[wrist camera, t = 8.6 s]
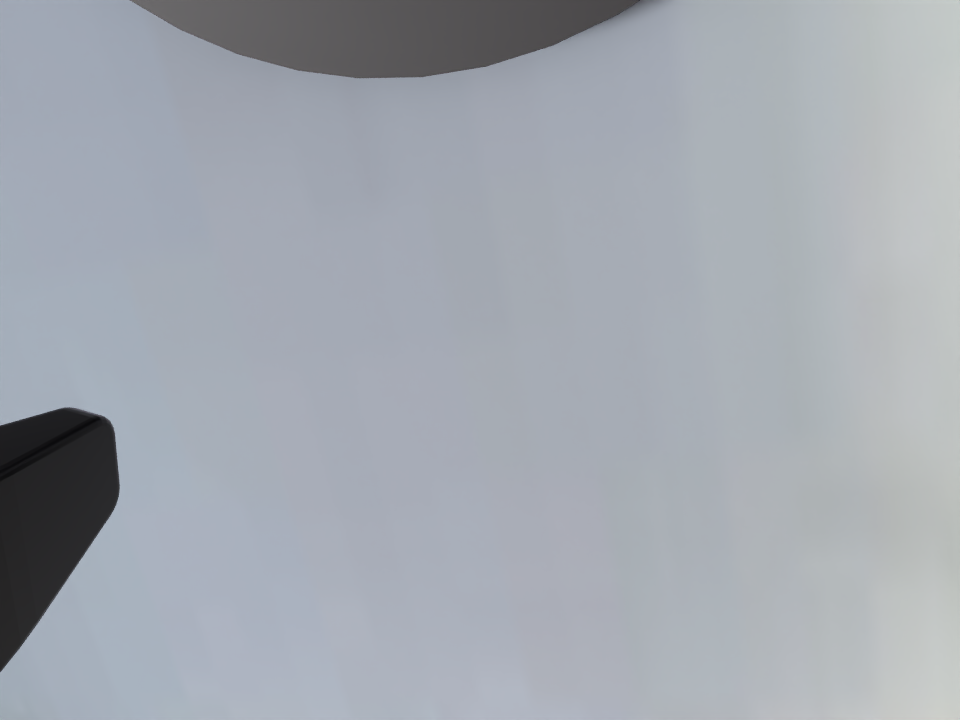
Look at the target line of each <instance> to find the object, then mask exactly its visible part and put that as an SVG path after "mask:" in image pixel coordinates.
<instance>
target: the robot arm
mask: <svg viewBox="0 0 960 720" xmlns="http://www.w3.org/2000/svg"><path fill="white" fill-rule="evenodd" d="M119 489H120V484H119V473H118V463H117V452H116V442H115V432H114V428H113V426H112V424H111V422H110V421H109V420H108V419H107V418H105V417H104V416H101V415H97V414H94V413H90V412H87V411H84V410H80V409H77V408H70V407H69V408H61V409H57V410H54V411H50V412H47V413H43V414H40V415H36V416H33V417H29V418H26V419H22V420H19V421H15V422H11V423H8V424H4V425H1V426H0V672H1V671H2V670H3V668H4V667H5V666H6V665H7V663H8V662H9V661H10V659H11V658H12V657H13V656H14V654H15V653H16V652H17V651H18V649H19V648H20V647H21V646H22V644H23V643H24V642H25V640H26V639H27V637H28V636H29V635H30V633H31V632H32V630H33V629H34V628H35V626H36V625H37V624H38V622H39V621H40V619H41V618H42V616H43V615H44V613H45V612H46V610H47V609H48V607H49V606H50V604H51V603H52V601H53V600H54V598H55V597H56V595H57V594H58V592H59V591H60V590H61V588H62V587H63V585H64V584H65V582H66V581H67V579H68V578H69V576H70V575H71V573H72V572H73V570H74V569H75V567H76V566H77V564H78V563H79V561H80V560H81V558H82V557H83V555H84V554H85V552H86V551H87V550H88V548H89V547H90V545H91V544H92V542H93V541H94V539H95V538H96V536H97V535H98V533H99V532H100V530H101V529H102V527H103V526H104V524H105V523H106V521H107V520H108V518H109V517H110V515H111V514H112V512H113V510H114V508H115V506H116V503H117V500H118V497H119Z"/></svg>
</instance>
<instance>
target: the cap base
mask: <svg viewBox="0 0 960 720" xmlns="http://www.w3.org/2000/svg"><path fill="white" fill-rule="evenodd" d="M130 1H132V2H134V3H135V4H137V5H139V6H141V7H142V8H144V9H146V10H147V11H149V12H151V13H153V14H154V15H156V16H158V17H160V18H161V19H163V20H165V21H166V22H168V23H170V24H172V25H173V26H175V27H177V28H178V29H180V30H182V31H185V32H187V33H189V34H192V35H194V36H196V37H199V38H201V39H204V40H206V41H208V42H211V43H213V44H215V45H218V46H220V47H222V48H225V49H227V50H230V51H232V52H234V53H237V54H239V55H243V56H247V57H250V58H254V59H258V60H261V61H265V62H269V63H272V64H276V65H280V66H283V67H287V68H291V69H294V70H299V71H307V72H314V73H322V74H330V75H338V76H346V77H354V78H394V77H425V76H431V75H437V74H443V73H449V72H455V71H461V70H467V69H473V68H480V67H486V66H489V65H492V64H495V63H499V62H502V61H505V60H508V59H511V58H514V57H518V56H521V55H524V54H527V53H530V52H533V51H537V50H540V49H543V48H546V47H549V46H552V45H554V44H557V43H559V42H561V41H563V40H565V39H567V38H569V37H571V36H573V35H575V34H578V33H580V32H582V31H584V30H586V29H588V28H590V27H592V26H594V25H597V24H599V23H601V22H603V21H605V20H607V19H609V18H611V17H613V16H616V15H618V14H619V13H621V12H623V11H624V10H626V9H627V8H629V7H630V6H632V5H633V4H635V3H636V2H638V1H640V0H130Z"/></svg>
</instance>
